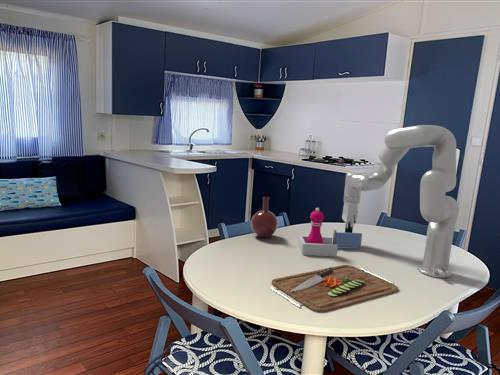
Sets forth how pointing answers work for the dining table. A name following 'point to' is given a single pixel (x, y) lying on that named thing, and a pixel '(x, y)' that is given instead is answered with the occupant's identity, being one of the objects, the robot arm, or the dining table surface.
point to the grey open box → (318, 247)
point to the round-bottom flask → (264, 221)
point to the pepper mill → (316, 227)
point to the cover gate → (347, 239)
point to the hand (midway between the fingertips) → (348, 236)
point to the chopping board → (333, 287)
